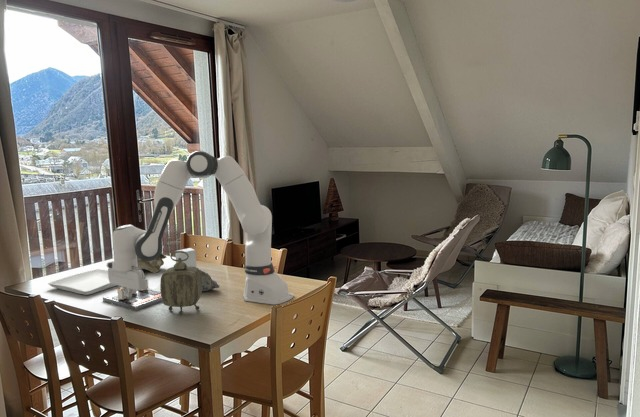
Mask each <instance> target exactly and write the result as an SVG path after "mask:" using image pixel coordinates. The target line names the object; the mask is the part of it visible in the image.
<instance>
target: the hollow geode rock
mask: <svg viewBox="0 0 640 417" xmlns="http://www.w3.org/2000/svg"><path fill="white" fill-rule="evenodd" d="M167 258H168V257H167V256H166V255H165V254H162V253H161V254H160V256H159V257H158V258H157V259H155V260H153V261H143V260H141V259H140V258H138V257H137V264H138V267H140V268H141V269H142V270H146V271H149V272H151V273H152V274H157V273H158V272H160V270H161V267H162V266H163V265H164V264H165V262H164V259H167Z"/></svg>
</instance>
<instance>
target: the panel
mask: <svg viewBox="0 0 640 417" xmlns="http://www.w3.org/2000/svg"><path fill="white" fill-rule="evenodd" d="M102 302H104V303H108V304H110V305H114V306H117V307H121V308H125V309H128V310H132V311H134V312H136V311H138V310H142V309H144V308H147V307H151V306H153V305H156V304H159V303H163V301H162V297H161V291H159V290H156V289H152V288H148V289H146V290H143V291H141V290H139V291H138V290H136V293H134V294H132V297H130V298H126V299H123V300H122V299H118V294H117V292H116V293H112V294H109V295H106V296H105V295H104V296H103V297H102Z"/></svg>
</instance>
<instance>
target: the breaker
mask: <svg viewBox="0 0 640 417" xmlns="http://www.w3.org/2000/svg"><path fill="white" fill-rule="evenodd" d="M145 280H146V288H145V289H143V290H146V289H149V282H148V279H146V278H145ZM143 290H141V291H143Z"/></svg>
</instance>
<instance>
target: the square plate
mask: <svg viewBox="0 0 640 417" xmlns="http://www.w3.org/2000/svg"><path fill="white" fill-rule="evenodd" d="M47 285H49V286H50V287H52V288H55V289H58V290H62V291H67V292H71V293H75V294H80V295H84V296H87V295H88V296H89V295H92V294H96V293H99V292H102V291H105V290H107V289H110V288H115V287H117V286H118V285H114V284H111V283H110V282H109V279H108V269H107V270H106V269H99V268H96V269H93V270H88V271H85V272H80V273H77V274H73V275H70V276H67V277H63V278H60V279H59V278H58V279H57V280H56V279H55V280H53V281H50V282H48V283H47Z"/></svg>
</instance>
